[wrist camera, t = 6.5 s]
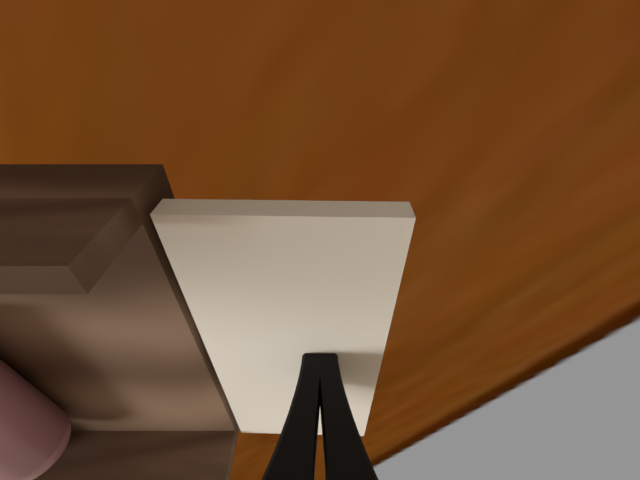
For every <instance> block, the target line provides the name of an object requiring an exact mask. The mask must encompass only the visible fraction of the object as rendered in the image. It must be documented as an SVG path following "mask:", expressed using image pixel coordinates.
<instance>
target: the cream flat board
mask: <svg viewBox="0 0 640 480" xmlns="http://www.w3.org/2000/svg"><path fill="white" fill-rule="evenodd" d="M150 216H151V218H152V221H153V223H154V226H155V228H156V230H157V233H158V235H159V238H160V240H161V242H162V245H163V247H164V249H165V252H166V254H167V257H168V259H169V261H170V264H171V266H172V269H173V271H174V273H175V276H176V278H177V280H178V283H179V285H180V288H181V290H182V292H183V295H184V297H185V300H186V302H187V304H188V307H189V309H190V311H191V314H192V316H193V319H194V321H195V323H196V326H197V328H198V331H199V333H200V335H201V338H202V340H203V343H204V345H205V347H206V350H207V352H208V354H209V357H210V359H211V362H212V364H213V366H214V369H215V371H216V374H217V376H218V378H219V381H220V383H221V385H222V388H223V390H224V393H225V395H226V397H227V400H228V402H229V405H230V407H231V409H232V412H233V414H234V416H235V419H236V421H237V424H238V426H239V428H240V431H241V433H268V434H281V431H282V429H283V426H284V423H285V421H286V418H287V415H288V412H289V409H290V406H291V402H292V399H293V396H294V393H295V389H296V385H297V382H298V377H299V373H300V368H301V362H302V355H303V354H305V353H335V354H337V355H338V362H339V368H340V373H341V378H342V382H343V385H344V389H345V393H346V396H347V400H348V403H349V406H350V409H351V412H352V415H353V418H354V421H355V424H356V426H357V429H358V432H359V434H360V436H364V434H365V429H366V425H367V421H368V417H369V413H370V409H371V404H372V400H373V396H374V392H375V388H376V383H377V379H378V375H379V371H380V367H381V362H382V358H383V354H384V350H385V346H386V341H387V337H388V333H389V329H390V325H391V320H392V316H393V312H394V308H395V304H396V299H397V295H398V291H399V287H400V283H401V278H402V274H403V270H404V266H405V262H406V257H407V253H408V249H409V245H410V241H411V237H412V232H413V228H414V224H415V220H416V217H415V214H414V212H413V209H412V207H411V204H410V202H389V201H306V200H223V199H162V200H161V201H160V203H159V204H158V205H157V206H156V208H155V209H154V210H153V211H152V212H151V214H150ZM318 435H322V425H321V412H319V424H318Z"/></svg>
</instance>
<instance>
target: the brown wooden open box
mask: <svg viewBox="0 0 640 480" xmlns="http://www.w3.org/2000/svg"><path fill="white" fill-rule="evenodd" d="M162 199H175V198H174V195H173V192H172V189H171V186H170V183H169V181H168V178H167V175H166V172H165V169H164V166H163V164H0V359H1V360H2V361H4V362H5V363H6V364H7V365H9V366H10V367H11V368H12V369H13V370H15V371H16V372H17V373H18V374H20V375H21V376H22V377H23V378H24V379H26V380H27V381H28V382H29V383H31V384H32V385H33V386H34V387H35V388H37V389H38V390H39V391H40V392H42V393H43V394H44V395H45V396H46V397H48V398H49V399H50V400H51V401H53V402H54V403H55V404H56V405H57V406H59V407H60V408H61V409H62V410H63V411H64V412H65V413H66V414H67V416H68V417H69V420H70V424H71V434H70V439H69V442H68V445H67V447H66V449H65V450H64V452H63V454H62V455H61V456H60V458H59V459H58V460H57V461H56V462H55V463H54V464H53V465H52V466H51V467H50V468H49V469H48V470H47V471H45V472H44V473H43V474H41V475H40V476H38V477H37V478H35V479H33V480H229V479H230V474H231V469H232V463H233V458H234V453H235V447H236V442H237V437H238V431H239V426H238V424H237V421H236V419H235V416H234V414H233V412H232V409H231V407H230V405H229V402H228V400H227V397H226V395H225V393H224V390H223V388H222V385H221V383H220V381H219V378H218V376H217V374H216V371H215V369H214V366H213V364H212V362H211V359H210V357H209V354H208V352H207V350H206V347H205V345H204V343H203V340H202V338H201V335H200V333H199V331H198V328H197V326H196V323H195V321H194V319H193V316H192V314H191V311H190V309H189V307H188V304H187V302H186V300H185V297H184V295H183V292H182V290H181V288H180V285H179V283H178V280H177V278H176V276H175V273H174V271H173V269H172V266H171V264H170V261H169V259H168V257H167V254H166V252H165V249H164V247H163V245H162V242H161V240H160V238H159V235H158V233H157V230H156V228H155V226H154V223H153V221H152V218H151V216H150V214H151V212H152V211H153V210H154V209H155V208H156V206H157V205H158V204H159V203H160V201H161V200H162Z"/></svg>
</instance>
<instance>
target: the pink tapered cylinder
mask: <svg viewBox="0 0 640 480" xmlns="http://www.w3.org/2000/svg"><path fill="white" fill-rule="evenodd" d="M70 434H71V424H70V420H69V417H68V416H67V414H66V413H65V412H64V411H63V410H62V409H61V408H60V407H59V406H57V405H56V404H55V403H54V402H53V401H51V400H50V399H49V398H48V397H46V396H45V395H44V394H43V393H42V392H40V391H39V390H38V389H37V388H35V387H34V386H33V385H32V384H31V383H29V382H28V381H27V380H26V379H24V378H23V377H22V376H21V375H20V374H18V373H17V372H16V371H15V370H13V369H12V368H11V367H10V366H9V365H7V364H6V363H5V362H4V361H2V360H1V359H0V480H33V479H35V478H37V477H38V476H40V475H41V474H43V473H44V472H45V471H47V470H48V469H49V468H50V467H51V466H52V465H53V464H54V463H55V462H56V461H57V460H58V459H59V458H60V456H61V455H62V454H63V452H64V450H65V449H66V447H67V445H68V442H69V439H70Z"/></svg>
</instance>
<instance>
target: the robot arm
mask: <svg viewBox="0 0 640 480" xmlns="http://www.w3.org/2000/svg"><path fill="white" fill-rule="evenodd" d="M319 412H321V425H322V437H323V450H324V462H325V480H378V477H377V475H376V473H375V471H374V468H373V466H372V464H371V462H370V459H369V457H368V454H367V452H366V450H365V447H364V445H363V442H362V440H361V437H360V434H359V432H358V429H357V426H356V424H355V421H354V418H353V415H352V412H351V409H350V406H349V403H348V400H347V396H346V393H345V389H344V385H343V382H342V378H341V373H340V368H339V362H338V355H337V354H335V353H305V354H303V355H302V362H301V368H300V373H299V377H298V382H297V385H296V389H295V393H294V396H293V399H292V402H291V406H290V409H289V412H288V415H287V418H286V421H285V423H284V426H283V429H282V431H281V434H280V437H279V440H278V442H277V445H276V447H275V450H274V452H273V454H272V457H271V459H270V461H269V464H268V466H267V468H266V471H265V473H264V475H263V477H262V479H261V480H315V462H316V450H317V437H318V424H319Z"/></svg>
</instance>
